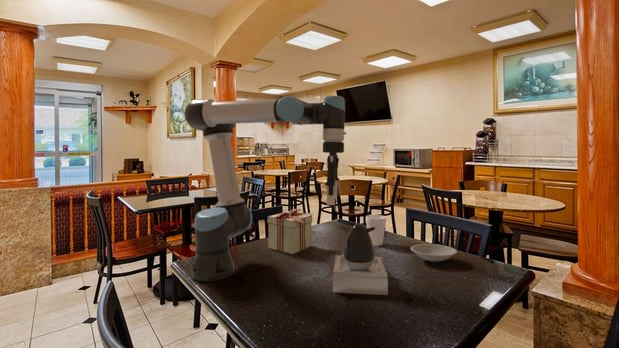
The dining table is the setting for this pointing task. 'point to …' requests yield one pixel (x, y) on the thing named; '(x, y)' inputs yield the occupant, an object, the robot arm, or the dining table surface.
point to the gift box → (289, 231)
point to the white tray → (360, 278)
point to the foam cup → (376, 228)
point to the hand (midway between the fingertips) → (332, 201)
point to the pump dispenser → (359, 248)
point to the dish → (433, 252)
